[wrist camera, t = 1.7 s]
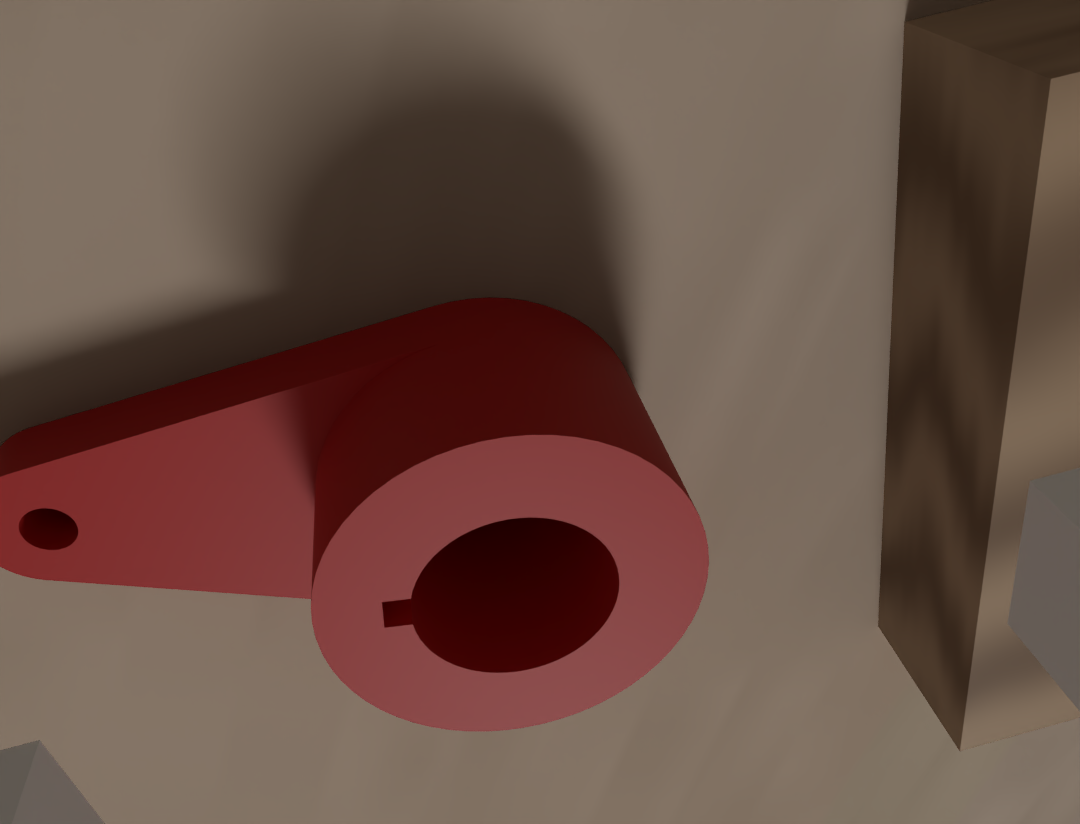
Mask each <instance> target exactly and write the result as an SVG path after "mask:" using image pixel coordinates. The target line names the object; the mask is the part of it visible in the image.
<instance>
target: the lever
mask: <svg viewBox="0 0 1080 824" xmlns="http://www.w3.org/2000/svg"><path fill="white" fill-rule="evenodd" d="M708 566H709V555H708V544H707V539H706V534H705V530H704V527H703V525H702V522H701V519H700V516H699V514H698V512H697V510H696V508H695V507H694V505H693V503H692V501H691V499H690V497H689V495H688V493H687V491H686V489H685V487H684V485H683V483H682V481H681V479H680V477H679V475H678V473H677V471H676V469H675V467H674V465H673V463H672V461H671V459H670V457H669V455H668V453H667V451H666V449H665V447H664V445H663V443H662V441H661V439H660V437H659V435H658V433H657V431H656V429H655V427H654V425H653V423H652V421H651V419H650V417H649V415H648V413H647V411H646V409H645V407H644V405H643V403H642V401H641V399H640V397H639V395H638V393H637V391H636V389H635V387H634V385H633V383H632V381H631V379H630V377H629V375H628V373H627V372H626V370H625V368H624V366H623V364H622V362H621V361H620V359H619V358H618V356H617V355H616V354H615V352H614V351H613V350H612V348H611V347H610V346H609V345H608V344H607V343H606V342H605V341H604V340H603V339H602V338H601V337H600V336H599V335H598V334H596V333H595V332H594V331H593V330H592V329H590V328H589V327H588V326H586V325H585V324H583V323H581V322H580V321H578V320H577V319H575V318H573V317H571V316H569V315H567V314H565V313H563V312H561V311H559V310H556V309H553V308H550V307H548V306H545V305H541V304H537V303H533V302H529V301H524V300H517V299H510V298H473V299H465V300H459V301H452V302H448V303H444V304H440V305H436V306H433V307H429V308H426V309H423V310H419V311H416V312H413V313H409V314H406V315H403V316H399V317H396V318H393V319H389V320H386V321H383V322H379V323H376V324H373V325H369V326H366V327H363V328H360V329H356V330H353V331H350V332H346V333H343V334H340V335H336V336H333V337H330V338H326V339H323V340H320V341H316V342H313V343H310V344H306V345H303V346H300V347H296V348H293V349H290V350H286V351H283V352H280V353H277V354H273V355H270V356H267V357H263V358H260V359H257V360H253V361H250V362H247V363H243V364H240V365H237V366H233V367H230V368H227V369H223V370H220V371H217V372H213V373H210V374H207V375H203V376H200V377H197V378H194V379H190V380H187V381H184V382H180V383H177V384H174V385H170V386H167V387H164V388H160V389H157V390H154V391H150V392H147V393H144V394H140V395H137V396H134V397H130V398H127V399H124V400H120V401H117V402H114V403H111V404H107V405H104V406H101V407H97V408H94V409H91V410H87V411H84V412H81V413H77V414H74V415H71V416H67V417H64V418H61V419H57V420H54V421H51V422H47V423H44V424H41V425H37V426H34V427H31V428H28V429H25V430H23V431H20V432H18V433H16V434H15V435H13V436H12V437H10V438H9V439H8V440H6V441H5V442H4V443H3V444H2V445H1V446H0V567H2V568H4V569H6V570H8V571H11V572H13V573H16V574H19V575H22V576H26V577H30V578H35V579H42V580H54V581H68V582H82V583H96V584H110V585H124V586H138V587H152V588H166V589H180V590H194V591H208V592H222V593H236V594H249V595H263V596H277V597H291V598H305V599H311V614H312V624H313V628H314V632H315V637H316V640H317V642H318V645H319V647H320V650H321V652H322V654H323V656H324V658H325V659H326V661H327V663H328V664H329V666H330V667H331V669H332V670H333V671H334V672H335V674H336V675H337V676H338V677H339V679H340V680H341V681H342V682H343V683H344V684H345V685H347V686H348V687H349V688H350V689H351V690H352V691H353V692H354V693H356V694H357V695H358V696H360V697H361V698H362V699H364V700H365V701H367V702H368V703H370V704H372V705H374V706H375V707H377V708H379V709H380V710H383V711H385V712H387V713H389V714H391V715H394V716H396V717H399V718H402V719H405V720H407V721H410V722H413V723H417V724H422V725H426V726H430V727H435V728H442V729H448V730H459V731H499V730H510V729H517V728H524V727H529V726H534V725H539V724H544V723H547V722H551V721H554V720H558V719H562V718H565V717H567V716H570V715H573V714H576V713H579V712H581V711H584V710H586V709H588V708H590V707H593V706H595V705H597V704H599V703H601V702H603V701H605V700H607V699H609V698H611V697H613V696H614V695H616V694H618V693H619V692H621V691H623V690H624V689H626V688H627V687H629V686H631V685H632V684H633V683H635V682H636V681H637V680H639V679H640V678H641V677H643V676H644V675H645V674H647V673H648V672H649V671H650V670H651V669H652V668H653V667H655V666H656V665H657V664H658V663H659V662H660V661H661V660H662V659H663V658H664V657H665V656H666V655H667V654H668V653H669V652H670V651H671V650H672V648H673V647H674V646H675V645H676V643H677V642H678V641H679V640H680V638H681V637H682V636H683V634H684V633H685V631H686V630H687V628H688V626H689V625H690V623H691V622H692V620H693V618H694V616H695V614H696V612H697V610H698V608H699V605H700V602H701V600H702V597H703V594H704V590H705V586H706V582H707V577H708Z"/></svg>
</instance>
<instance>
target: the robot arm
mask: <svg viewBox="0 0 1080 824" xmlns="http://www.w3.org/2000/svg"><path fill="white" fill-rule="evenodd" d="M1007 624H1008V625H1009V626H1010V627H1011V629H1012V630H1013V631H1014V632H1015V633H1016V635H1017V636H1018V637H1019V638H1020V639H1021V641H1022V642H1023V643H1024V644H1025V646H1026V647H1027V648H1028V649H1029V650H1030V652H1031V653H1032V654H1033V655H1034V656H1035V658H1036V659H1037V660H1038V661H1039V663H1040V664H1041V665H1042V666H1043V667H1044V669H1045V670H1046V671H1047V672H1048V673H1049V675H1050V676H1051V677H1052V678H1053V680H1054V681H1055V682H1056V683H1057V684H1058V686H1059V687H1060V688H1061V689H1062V690H1063V692H1064V693H1065V694H1066V695H1067V696H1068V698H1069V699H1070V700H1071V701H1072V703H1073V704H1074V705H1075V706H1076V707H1077V709H1078V710H1079V711H1080V468H1077V469H1073V470H1070V471H1066V472H1062V473H1058V474H1054V475H1051V476H1047V477H1043V478H1039V479H1035V480H1031V481H1030V484H1029V490H1028V496H1027V503H1026V509H1025V515H1024V522H1023V528H1022V534H1021V541H1020V547H1019V553H1018V560H1017V566H1016V572H1015V578H1014V585H1013V591H1012V597H1011V604H1010V610H1009V616H1008V623H1007ZM0 824H105V823H104V822H103V820H102V819H101V818H100V817H99V815H98V814H97V813H96V812H95V810H94V809H93V808H92V806H91V805H90V804H89V803H88V801H87V800H86V799H85V797H84V796H83V795H82V794H81V792H80V791H79V790H78V789H77V787H76V786H75V785H74V783H73V782H72V781H71V780H70V778H69V777H68V776H67V774H66V773H65V772H64V771H63V769H62V768H61V767H60V766H59V764H58V763H57V762H56V760H55V759H54V758H53V757H52V755H51V754H50V753H49V751H48V750H47V749H46V748H45V746H44V745H43V744H42V743H41V741H40V740H38V741H34V742H30V743H27V744H23V745H19V746H15V747H11V748H8V749H4V750H0Z"/></svg>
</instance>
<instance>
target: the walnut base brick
mask: <svg viewBox="0 0 1080 824" xmlns="http://www.w3.org/2000/svg"><path fill="white" fill-rule="evenodd" d="M1077 468H1080V0H992V1H988V2H984V3H980V4H975V5H971V6H967V7H963V8H959V9H955V10H951V11H947V12H942V13H938V14H934V15H930V16H926V17H922V18H918V19H914V20H910V21H905V22H904V45H903V68H902V91H901V114H900V137H899V160H898V183H897V206H896V229H895V252H894V275H893V298H892V321H891V344H890V367H889V390H888V413H887V436H886V459H885V482H884V505H883V528H882V551H881V574H880V598H879V621H878V627H879V628H880V630H881V631H882V633H883V634H884V636H885V637H886V639H887V640H888V642H889V643H890V645H891V646H892V648H893V650H894V651H895V653H896V654H897V656H898V657H899V659H900V660H901V662H902V663H903V665H904V666H905V668H906V669H907V671H908V673H909V674H910V676H911V677H912V679H913V680H914V682H915V683H916V685H917V686H918V688H919V689H920V691H921V692H922V694H923V696H924V697H925V699H926V700H927V702H928V703H929V705H930V706H931V708H932V709H933V711H934V712H935V714H936V715H937V717H938V718H939V720H940V722H941V723H942V725H943V726H944V728H945V729H946V731H947V732H948V734H949V735H950V737H951V738H952V740H953V741H954V743H955V745H956V746H957V748H958V749H959V751H963V750H966V749H970V748H973V747H977V746H980V745H984V744H987V743H991V742H995V741H998V740H1002V739H1005V738H1009V737H1012V736H1016V735H1019V734H1023V733H1027V732H1030V731H1034V730H1037V729H1041V728H1044V727H1048V726H1051V725H1055V724H1059V723H1062V722H1066V721H1069V720H1073V719H1076V718H1080V711H1079V710H1078V709H1077V707H1076V706H1075V705H1074V704H1073V703H1072V701H1071V700H1070V699H1069V698H1068V696H1067V695H1066V694H1065V693H1064V692H1063V690H1062V689H1061V688H1060V687H1059V686H1058V684H1057V683H1056V682H1055V681H1054V680H1053V678H1052V677H1051V676H1050V675H1049V673H1048V672H1047V671H1046V670H1045V669H1044V667H1043V666H1042V665H1041V664H1040V663H1039V661H1038V660H1037V659H1036V658H1035V656H1034V655H1033V654H1032V653H1031V652H1030V650H1029V649H1028V648H1027V647H1026V646H1025V644H1024V643H1023V642H1022V641H1021V639H1020V638H1019V637H1018V636H1017V635H1016V633H1015V632H1014V631H1013V630H1012V629H1011V627H1010V626H1009V625H1008V624H1007V623H1008V616H1009V610H1010V604H1011V597H1012V591H1013V585H1014V578H1015V572H1016V566H1017V560H1018V553H1019V547H1020V541H1021V534H1022V528H1023V522H1024V515H1025V509H1026V503H1027V496H1028V490H1029V484H1030V481H1031V480H1035V479H1039V478H1043V477H1047V476H1051V475H1054V474H1058V473H1062V472H1066V471H1070V470H1073V469H1077Z"/></svg>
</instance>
